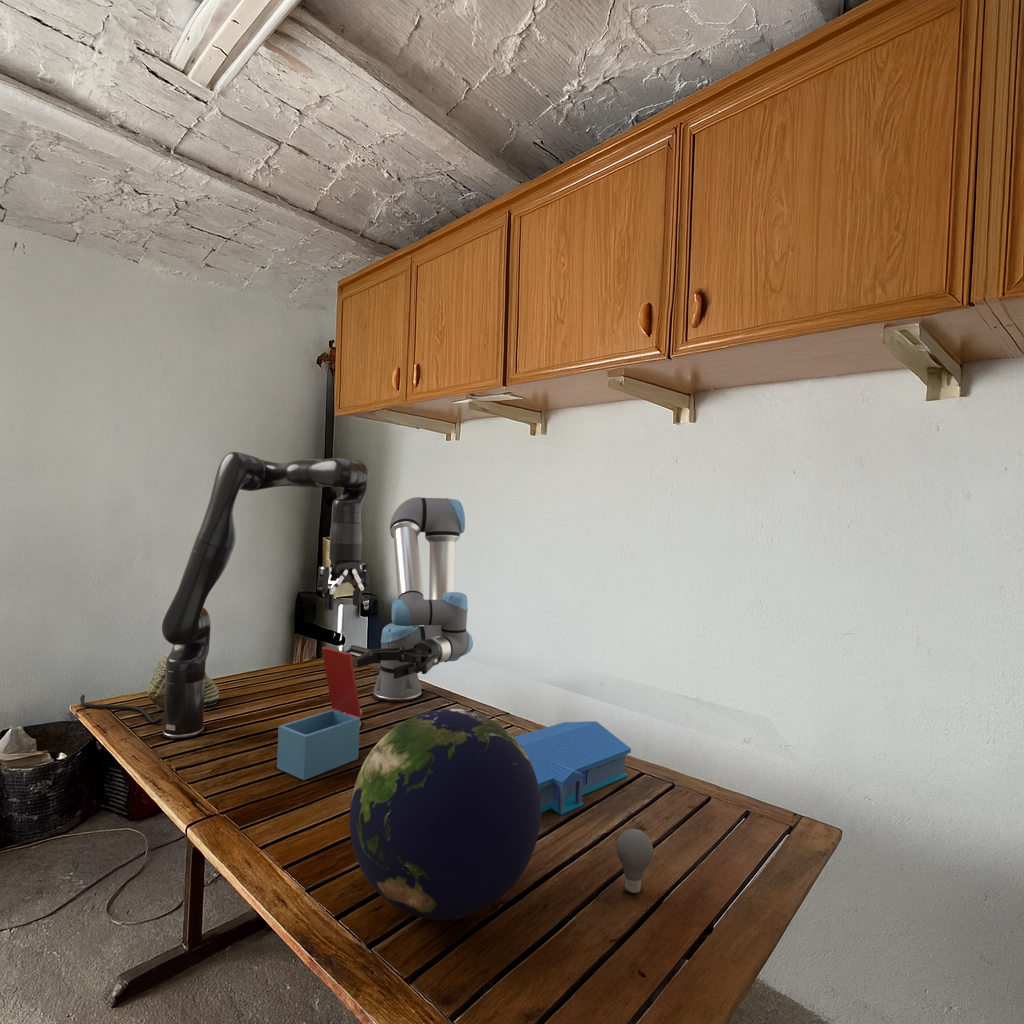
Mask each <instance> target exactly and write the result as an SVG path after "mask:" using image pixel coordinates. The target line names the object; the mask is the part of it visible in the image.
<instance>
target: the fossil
mask: <svg viewBox="0 0 1024 1024" xmlns="http://www.w3.org/2000/svg"><path fill="white" fill-rule="evenodd" d="M168 656H169V654H165V655H164V656H163V657H162V658H161V659H160V660H159V662H158V663H157V666H156V667H155V669H154V670H153V672H152V675H151V677H150V680H149V684H148V688H147V697H148V699H149V700H150V701H152V703H153V704H154V706H155V711H158V712H159V711H162V712H163V711H164V705H165V674H166V659H167V657H168ZM220 698H221V696H220V690H219V688H218V686H217V685H216V683H215V682H214V681H213V679H212V678H211V677H209V675H208V674H207V672H206V671H205V693H204V707H207V706H213V705H215V704H217V703H218V701H219V699H220Z"/></svg>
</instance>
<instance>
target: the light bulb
mask: <svg viewBox="0 0 1024 1024" xmlns="http://www.w3.org/2000/svg"><path fill="white" fill-rule="evenodd" d="M615 849H616V854H617V857H618V859H619V861H620V863H621V865H622V867H623V873H624V874H623V875H624V876H625V878H624V888H625V890H627V891H628V892H630V893H634V894H635V893H639V892H640V891H641V889H642V887H641V886H642V879H643V877H644V875H645V871H646V868H647V867H648V866H649V864H650V863H651V861H652V859H653V855H654V847H653V843H652V841H651V838H649V836H648V835H647V834H646V833H645V832H643V831H642V830H641V829H636V828H629V829H627V830H625V831H623V832H622V833H621V834H620V835H619V837H618V839H617V841H616V847H615Z"/></svg>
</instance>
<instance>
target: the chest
mask: <svg viewBox="0 0 1024 1024" xmlns="http://www.w3.org/2000/svg"><path fill="white" fill-rule="evenodd" d="M360 721H361V717H360V718H357V717H354V716H351V715H348V714H345V713H343V712H342V711H339V710H336V709H330V710H327V711H324V712H320V713H317V714H314V715H310V716H307V717H303V718H300V719H298V720H294V721H290V722H288V723H284V724H280V725H278V731H277V754H276V755H277V756H276V769H277V770H280V771H282V772H284V773H286V774H289V775H290V776H293V777H296V778H298V779H299V780H302V781H306V780H309V779H311V778H314V777H316V776H320V775H321V774H324V773H326V772H328V771H332V770H333V769H337V768H338V767H341V766H343V765H346V764H348V763H352V762H353V761H356V760H358V759H359V752H360V751H359V750H360V731H361V730H360V728H361V725H360Z"/></svg>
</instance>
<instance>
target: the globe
mask: <svg viewBox="0 0 1024 1024" xmlns="http://www.w3.org/2000/svg"><path fill="white" fill-rule="evenodd" d="M514 737H515V736H513V735H512V734H511V732H509V731H508V730H507V729H505V727H503V726H502V725H501V724H499V723H498V722H497V721H494V720H493V719H491V718H489V717H486V716H485V715H482V714H479V713H478V712H474V711H469V710H465V709H462V708H441V709H434V710H429V711H425V712H422V713H419V714H416V715H414V716H412V717H410V718H408V719H406V720H404V721H402V722H400V723H399V724H397V725H396V726H394V728H392V729H390V731H388V732H387V733H386V734H385V735H384V736H383V737H382V738H381V739H380V740H379V741H378V742H377V743H376V744H375V746H373V748H372V749H371V750H370V752H369V753H368V755H367V757H366V758H365V760H364V762H363V763H362V765H361V768H360V770H359V772H358V775H357V777H356V780H355V783H354V786H353V789H352V793H351V799H350V804H349V805H350V806H349V832H350V833H349V834H350V841H351V845H352V849H353V853H354V856H355V857H356V862H357V864H358V866H359V868H360V870H361V871H362V873H363V875H364V877H365V879H366V880H367V881H368V883H369V884H370V885H371V887H372V888H373V889H374V890H375V892H376V893H377V894H378V895H380V897H381V898H382V899H384V900H385V901H386V902H387V903H388V904H390V905H392V906H393V907H395V908H396V909H398V910H400V911H402V912H404V913H405V914H408V915H411V916H413V917H416V918H421V919H426V920H433V921H448V920H449V921H450V920H457V919H462V918H466V917H468V916H472V915H474V914H477V913H479V912H481V911H483V910H485V909H487V908H489V907H490V906H491V905H493V904H494V903H496V902H497V901H499V900H500V899H501V898H502V897H503V896H504V895H506V894H507V893H508V892H509V891H510V890H511V889H512V887H514V885H515V884H516V883H517V881H518V880H519V879H520V878H521V877H522V875H523V874H524V872H525V870H526V868H527V867H528V865H529V863H530V860H531V858H532V856H533V853H534V851H535V848H536V846H537V842H538V839H539V833H540V828H541V820H542V813H541V799H540V791H539V786H538V781H537V778H536V775H535V772H534V769H533V767H532V764H531V761H530V759H529V758H528V756H527V754H526V753H525V751H524V749H523V748H522V746H521V745H520V744H519V743H518V742H517V740H516V739H515V738H514Z"/></svg>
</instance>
